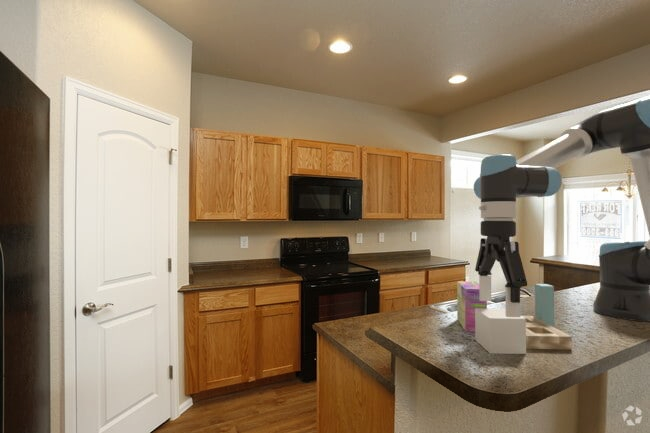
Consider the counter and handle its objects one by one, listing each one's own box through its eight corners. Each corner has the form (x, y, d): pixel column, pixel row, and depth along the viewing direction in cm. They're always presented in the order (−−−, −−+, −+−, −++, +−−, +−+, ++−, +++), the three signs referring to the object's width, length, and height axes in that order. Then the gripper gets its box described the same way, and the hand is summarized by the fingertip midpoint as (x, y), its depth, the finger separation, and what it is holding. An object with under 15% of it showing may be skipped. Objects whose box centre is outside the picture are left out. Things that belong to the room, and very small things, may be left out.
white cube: (508, 340, 80) (507, 308, 80) (526, 353, 72) (525, 318, 72) (475, 339, 80) (475, 308, 80) (489, 353, 72) (489, 318, 72)
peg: (546, 325, 90) (546, 283, 90) (554, 329, 87) (553, 286, 87) (535, 325, 90) (534, 283, 91) (542, 329, 87) (541, 286, 87)
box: (487, 333, 85) (487, 289, 85) (465, 331, 86) (464, 288, 86) (477, 320, 95) (476, 281, 95) (457, 319, 96) (456, 281, 97)
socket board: (531, 326, 90) (531, 315, 90) (571, 349, 74) (571, 336, 74) (495, 325, 91) (495, 315, 91) (527, 348, 75) (527, 335, 75)
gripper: (462, 219, 89) (462, 295, 89) (508, 219, 64) (508, 324, 64) (490, 220, 88) (490, 295, 88) (547, 220, 64) (547, 325, 63)
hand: (497, 308), depth 76 cm, fingers open, 13 cm apart
